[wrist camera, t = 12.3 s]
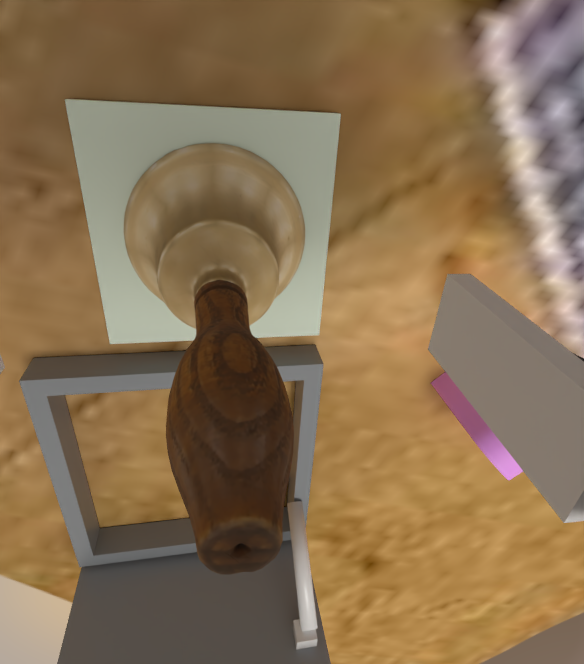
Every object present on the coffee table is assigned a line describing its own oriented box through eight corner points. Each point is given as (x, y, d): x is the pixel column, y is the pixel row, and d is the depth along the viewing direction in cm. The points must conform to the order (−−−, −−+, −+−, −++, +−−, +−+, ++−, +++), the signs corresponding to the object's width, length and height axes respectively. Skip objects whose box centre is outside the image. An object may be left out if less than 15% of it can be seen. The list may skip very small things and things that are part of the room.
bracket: (429, 381, 28) (489, 461, 22) (501, 326, 27) (585, 396, 21) (511, 466, 34) (575, 547, 28) (572, 425, 33) (653, 501, 27)
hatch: (33, 357, 22) (-115, 594, 12) (315, 344, 25) (392, 528, 15) (89, 550, 30) (31, 789, 20) (298, 524, 33) (340, 724, 23)
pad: (68, 98, 17) (64, 99, 16) (337, 112, 19) (340, 113, 18) (112, 338, 22) (109, 344, 22) (316, 329, 24) (319, 335, 24)
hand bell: (82, 204, 18) (-272, 550, 5) (250, 104, 18) (406, 172, 4) (192, 342, 23) (171, 734, 9) (331, 267, 22) (538, 571, 8)
